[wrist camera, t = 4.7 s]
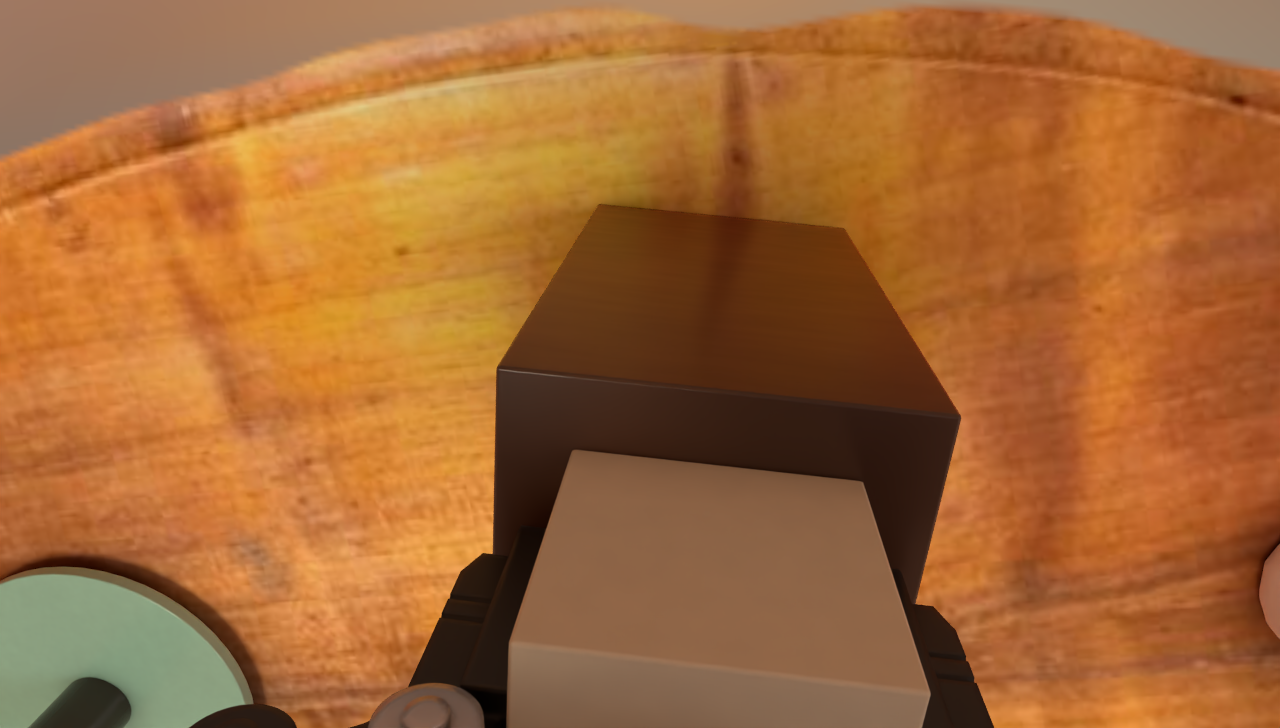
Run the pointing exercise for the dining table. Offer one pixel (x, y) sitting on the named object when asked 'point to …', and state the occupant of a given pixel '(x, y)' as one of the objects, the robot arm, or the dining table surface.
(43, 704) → the tin lid
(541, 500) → the stand
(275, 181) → the dining table surface
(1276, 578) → the cup
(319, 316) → the dining table surface
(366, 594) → the dining table surface
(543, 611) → the wax block
